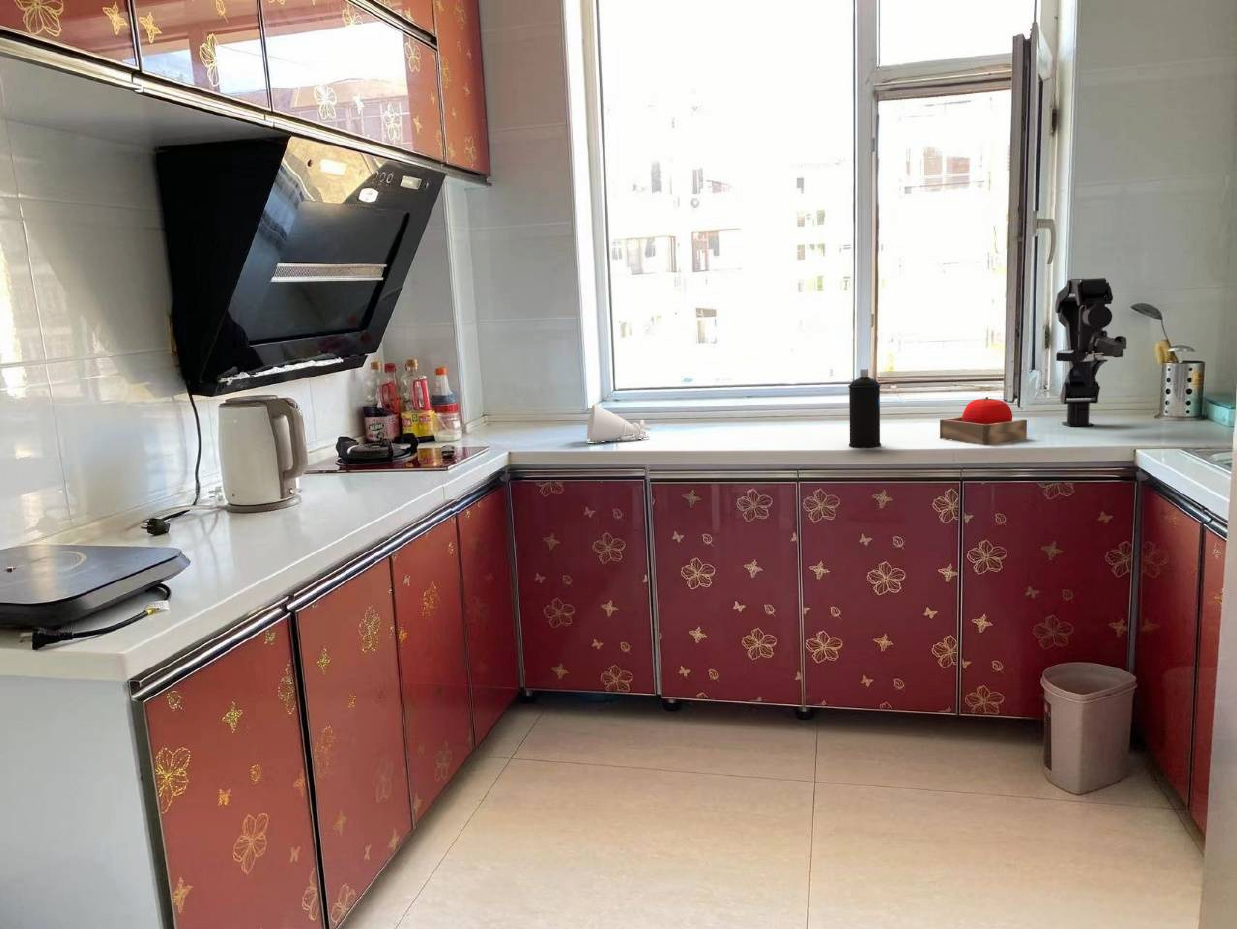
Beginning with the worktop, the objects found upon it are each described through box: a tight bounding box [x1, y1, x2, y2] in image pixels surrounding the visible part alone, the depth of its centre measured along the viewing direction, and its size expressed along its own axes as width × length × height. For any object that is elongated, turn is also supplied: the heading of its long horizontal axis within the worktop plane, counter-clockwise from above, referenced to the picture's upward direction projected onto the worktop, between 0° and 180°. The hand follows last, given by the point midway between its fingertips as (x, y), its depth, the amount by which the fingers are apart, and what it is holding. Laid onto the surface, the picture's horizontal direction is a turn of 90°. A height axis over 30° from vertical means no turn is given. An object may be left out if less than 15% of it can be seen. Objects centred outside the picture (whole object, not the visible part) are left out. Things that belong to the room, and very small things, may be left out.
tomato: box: [961, 396, 1013, 424], centre depth 254 cm, size 11×12×10 cm
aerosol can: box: [847, 368, 882, 449], centre depth 251 cm, size 8×8×20 cm
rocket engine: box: [586, 404, 652, 442], centre depth 283 cm, size 12×12×18 cm
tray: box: [939, 416, 1028, 446], centre depth 253 cm, size 14×16×5 cm
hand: (1088, 386), depth 255 cm, fingers closed
